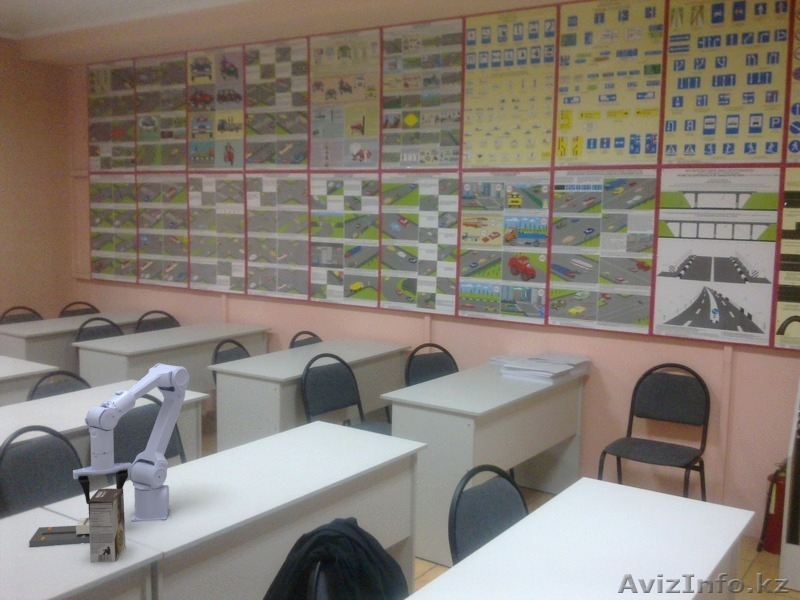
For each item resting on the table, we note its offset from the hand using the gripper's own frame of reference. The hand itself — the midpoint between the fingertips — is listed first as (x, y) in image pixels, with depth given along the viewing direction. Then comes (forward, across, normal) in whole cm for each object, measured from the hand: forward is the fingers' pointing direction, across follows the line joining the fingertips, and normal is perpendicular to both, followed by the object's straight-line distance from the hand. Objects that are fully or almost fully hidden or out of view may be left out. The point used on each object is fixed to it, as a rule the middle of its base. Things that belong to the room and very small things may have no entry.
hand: (103, 500), depth 203 cm
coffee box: (+10, +1, +15) cm, 18 cm away
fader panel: (+9, +9, -2) cm, 13 cm away
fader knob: (+8, +4, 0) cm, 9 cm away
